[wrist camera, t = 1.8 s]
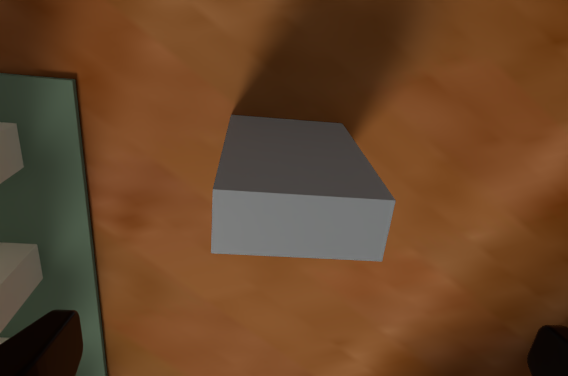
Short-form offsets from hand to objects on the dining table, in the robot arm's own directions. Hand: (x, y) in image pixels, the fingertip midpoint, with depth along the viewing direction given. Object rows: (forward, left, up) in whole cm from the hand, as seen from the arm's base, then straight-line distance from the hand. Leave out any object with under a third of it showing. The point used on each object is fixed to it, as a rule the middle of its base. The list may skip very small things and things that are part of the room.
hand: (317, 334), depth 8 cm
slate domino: (0, 0, -12) cm, 12 cm away
